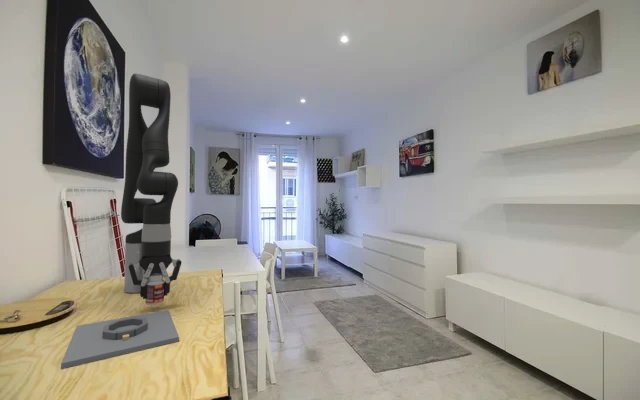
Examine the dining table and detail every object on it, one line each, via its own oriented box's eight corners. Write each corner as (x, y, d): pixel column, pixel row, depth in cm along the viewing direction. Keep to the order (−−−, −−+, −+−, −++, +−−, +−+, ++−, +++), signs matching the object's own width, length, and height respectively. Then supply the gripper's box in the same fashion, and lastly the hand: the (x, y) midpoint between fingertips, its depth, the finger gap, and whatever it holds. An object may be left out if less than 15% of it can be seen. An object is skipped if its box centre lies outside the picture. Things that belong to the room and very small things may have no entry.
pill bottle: (155, 306, 81) (156, 277, 81) (141, 304, 82) (142, 275, 82) (167, 300, 86) (168, 273, 86) (154, 299, 87) (155, 271, 87)
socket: (76, 329, 70) (76, 319, 70) (168, 313, 81) (168, 304, 81) (60, 368, 53) (61, 355, 53) (178, 341, 64) (179, 330, 64)
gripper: (181, 236, 91) (179, 289, 91) (127, 238, 83) (125, 297, 83) (185, 239, 85) (183, 296, 85) (127, 242, 77) (125, 305, 77)
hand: (155, 296), depth 84 cm, fingers closed on pill bottle, 4 cm apart
